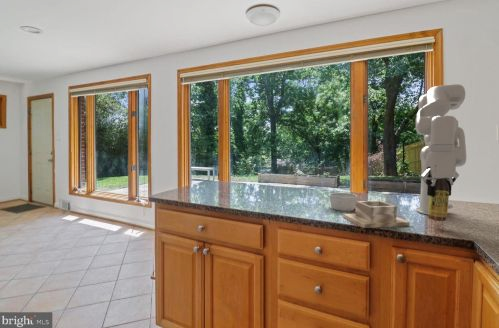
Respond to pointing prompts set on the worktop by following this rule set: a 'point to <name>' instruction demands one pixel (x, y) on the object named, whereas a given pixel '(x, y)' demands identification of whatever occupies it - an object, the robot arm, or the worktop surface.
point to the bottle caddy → (375, 215)
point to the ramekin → (343, 201)
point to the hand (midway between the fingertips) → (438, 195)
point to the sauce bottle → (439, 201)
